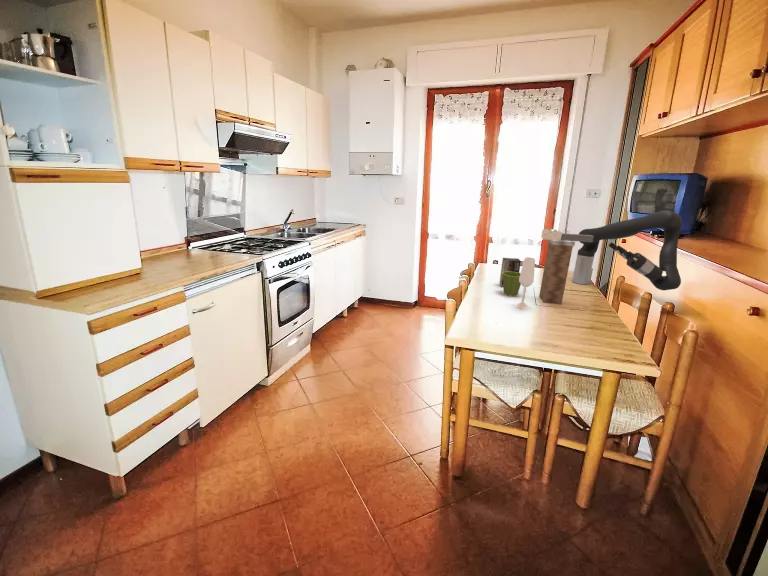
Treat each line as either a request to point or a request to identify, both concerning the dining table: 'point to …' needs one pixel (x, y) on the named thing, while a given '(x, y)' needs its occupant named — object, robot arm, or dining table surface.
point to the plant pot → (511, 283)
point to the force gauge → (565, 236)
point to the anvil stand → (555, 271)
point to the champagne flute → (526, 278)
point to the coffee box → (509, 267)
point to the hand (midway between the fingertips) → (613, 245)
